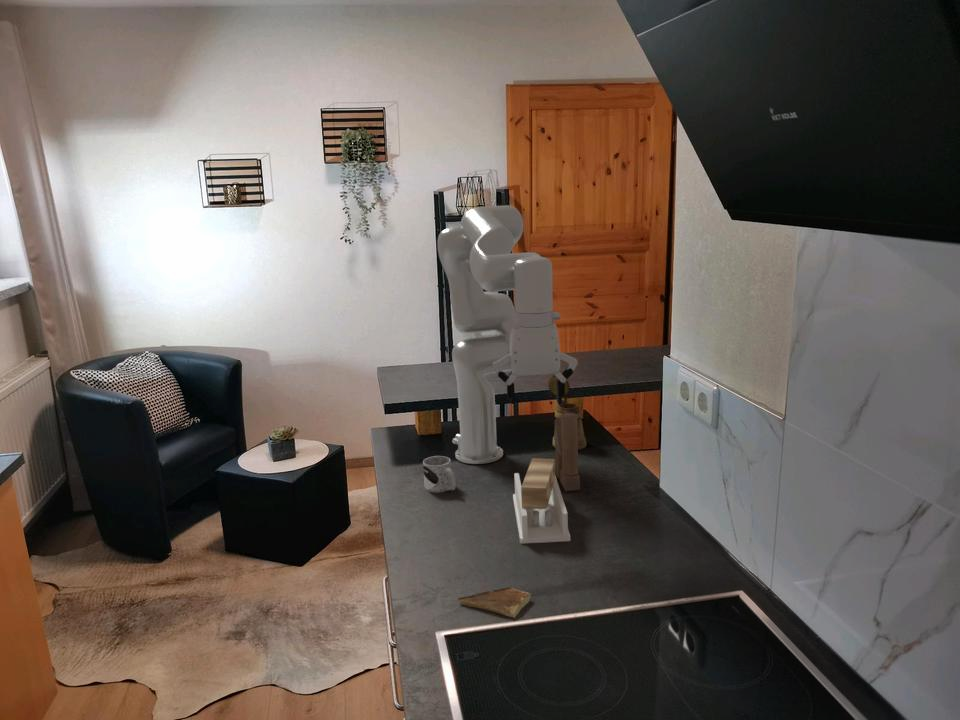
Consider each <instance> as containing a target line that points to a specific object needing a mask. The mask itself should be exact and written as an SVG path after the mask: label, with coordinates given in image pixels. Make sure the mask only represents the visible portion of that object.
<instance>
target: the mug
mask: <svg viewBox="0 0 960 720" xmlns="http://www.w3.org/2000/svg"><path fill="white" fill-rule="evenodd" d="M422 468H423V483H424V486H423V487H424V490H425V491H426V492H428V493H433V494H438V493H439V494H440V493H444V492H445V493H446V492H448V491H455V490H456V486H457V485H456V483H457V482H456V474H455V472H454V471H453V470H452V459H451V457H448V456H445V455H444V456H443V455H434V456H428V457H427V458H424V459H423V460H422Z"/></svg>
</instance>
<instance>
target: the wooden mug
mask: <svg viewBox="0 0 960 720" xmlns="http://www.w3.org/2000/svg"><path fill="white" fill-rule="evenodd" d="M557 379H558V378H557V377H556V376H555V375H554V374H552V376H551V378H550V379H549V380H548V389H549V392H550V394H551V395H552V396H553V397H555V398H556V402H557V407H556V410H555V413H554V418H555V420H557V419H561V416H562V414H564V413H575V414H576V415H577V438H578V451H579V450H582V449H585V448H586V447H587V440H586V439H587V438H586V437H585V432H584V427H583V421H582V414H583V413H582V409H581V407H580V404H578V403H575V402H574V403H568V399H567V396H568V395H569V393H570V391H571V390H570V389H571V387H570V383H569V381H568V379H567V380H566V382H565V396H564V397H562V402H559V401H558V400H557V391H556V380H557ZM552 446H553V447H554V449H555V448H556V447H555V432H554V436H552Z"/></svg>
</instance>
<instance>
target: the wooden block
mask: <svg viewBox="0 0 960 720" xmlns="http://www.w3.org/2000/svg"><path fill="white" fill-rule="evenodd" d="M554 433H555V447H556V448H555V447H554V449H555V451H554V454H555V457H554V459H555V476H556V478H557V479H558V480H559V482H560V484H561V486H562V488H563V490H564V492H573V491H580V490H581V477H580V474H579V457H578V456H579V452H578V451H579V450H578V438H577V415H576V414H575V413H564V414H562V416H561V419H557V420H556V419H554Z"/></svg>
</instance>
